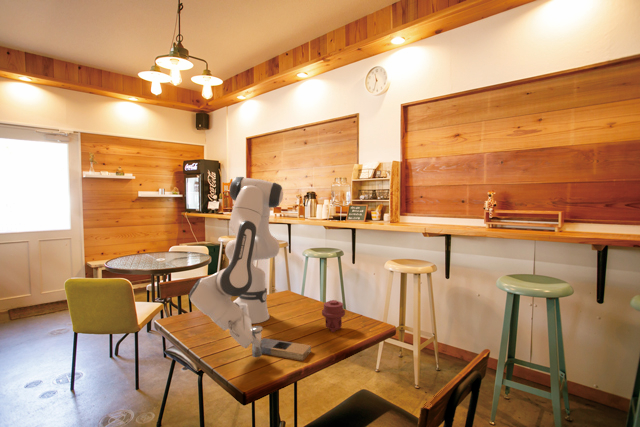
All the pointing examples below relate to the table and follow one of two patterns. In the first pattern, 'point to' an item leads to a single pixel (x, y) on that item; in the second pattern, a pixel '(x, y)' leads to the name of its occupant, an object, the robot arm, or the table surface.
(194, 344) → the table surface
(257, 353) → the metal peg
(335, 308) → the mechanical component
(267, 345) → the two-tone slotted plate
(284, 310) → the table surface
